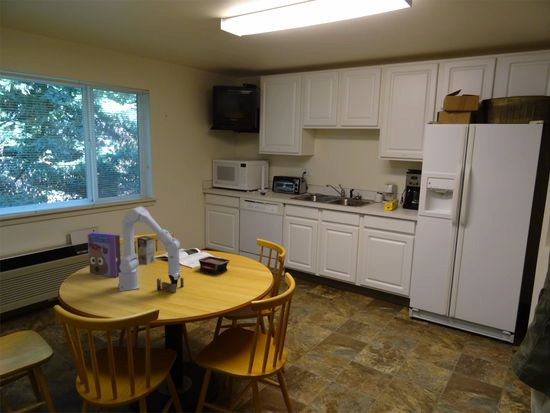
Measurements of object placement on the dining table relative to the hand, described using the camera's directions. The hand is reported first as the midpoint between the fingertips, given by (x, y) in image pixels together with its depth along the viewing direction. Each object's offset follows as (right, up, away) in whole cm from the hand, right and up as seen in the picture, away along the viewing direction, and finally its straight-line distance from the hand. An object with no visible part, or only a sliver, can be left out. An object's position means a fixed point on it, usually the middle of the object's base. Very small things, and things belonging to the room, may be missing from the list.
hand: (174, 287), depth 198 cm
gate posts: (-3, -1, +3) cm, 4 cm away
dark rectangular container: (+16, +3, +31) cm, 35 cm away
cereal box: (-45, +3, +21) cm, 50 cm away
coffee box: (-30, +7, +45) cm, 54 cm away
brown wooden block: (-3, -1, -1) cm, 3 cm away
